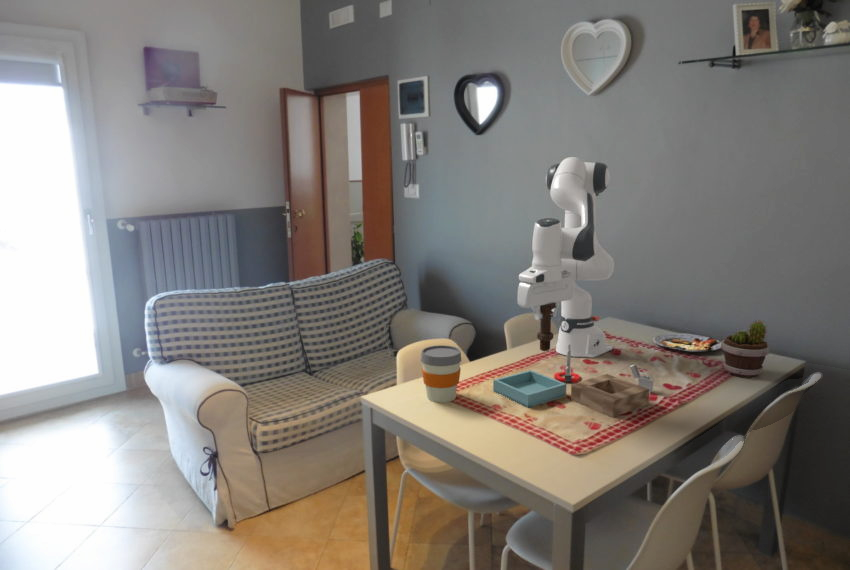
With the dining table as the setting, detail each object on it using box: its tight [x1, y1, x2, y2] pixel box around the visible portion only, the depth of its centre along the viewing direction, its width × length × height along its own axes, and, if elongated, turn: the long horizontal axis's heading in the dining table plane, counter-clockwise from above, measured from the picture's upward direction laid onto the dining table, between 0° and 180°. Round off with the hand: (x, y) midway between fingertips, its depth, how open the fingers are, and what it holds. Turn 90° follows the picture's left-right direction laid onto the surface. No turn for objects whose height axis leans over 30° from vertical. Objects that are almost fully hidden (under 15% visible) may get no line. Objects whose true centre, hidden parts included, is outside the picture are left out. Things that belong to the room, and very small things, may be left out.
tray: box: [492, 369, 567, 409], centre depth 191 cm, size 16×16×4 cm
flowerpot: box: [720, 319, 771, 379], centre depth 205 cm, size 14×15×20 cm
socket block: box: [570, 373, 650, 418], centre depth 184 cm, size 16×16×5 cm
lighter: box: [629, 363, 654, 394], centre depth 193 cm, size 7×2×8 cm, turn 48°
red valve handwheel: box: [553, 345, 581, 384], centre depth 204 cm, size 8×13×9 cm
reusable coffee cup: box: [420, 344, 462, 403], centre depth 189 cm, size 13×13×15 cm
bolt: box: [536, 303, 556, 352], centre depth 186 cm, size 6×5×15 cm
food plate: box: [652, 332, 722, 353], centre depth 238 cm, size 25×23×4 cm
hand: (545, 317), depth 185 cm, fingers closed on bolt, 5 cm apart
